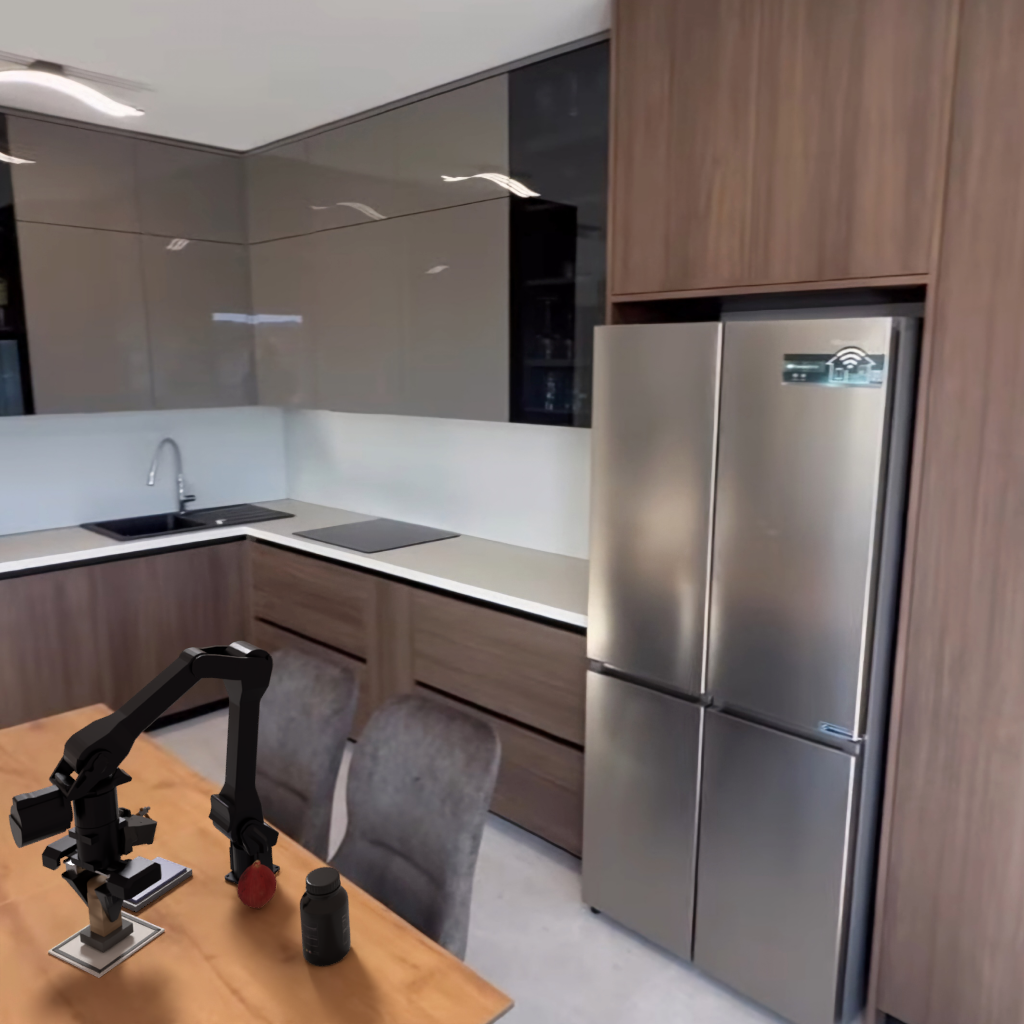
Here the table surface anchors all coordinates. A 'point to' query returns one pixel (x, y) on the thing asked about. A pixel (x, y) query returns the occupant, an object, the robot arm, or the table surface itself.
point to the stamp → (102, 921)
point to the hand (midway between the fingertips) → (105, 916)
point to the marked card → (104, 962)
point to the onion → (256, 885)
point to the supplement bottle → (325, 918)
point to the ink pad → (159, 884)
